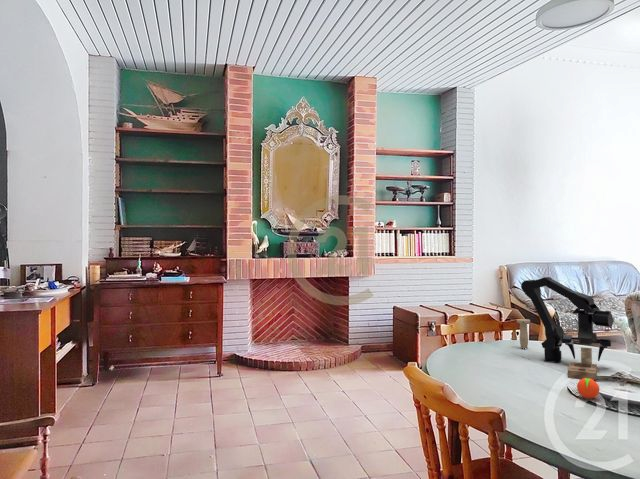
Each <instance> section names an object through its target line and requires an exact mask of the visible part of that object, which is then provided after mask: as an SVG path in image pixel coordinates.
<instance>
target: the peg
mask: <svg viewBox="0 0 640 479" xmlns="http://www.w3.org/2000/svg"><path fill="white" fill-rule="evenodd" d="M592 354H593V352H592V347H582V346H581V347H580V363H587V364H593V356H592Z"/></svg>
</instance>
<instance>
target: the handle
mask: <svg viewBox="0 0 640 479" xmlns="http://www.w3.org/2000/svg"><path fill="white" fill-rule="evenodd" d="M516 323H518V324H519V344H520V348H521V347H522V348H527V349H529V348H528V345H529V334H528V324H530V323H531V320H530V319H529V318H528V319H526V318H517V319H516Z"/></svg>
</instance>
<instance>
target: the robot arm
mask: <svg viewBox="0 0 640 479" xmlns="http://www.w3.org/2000/svg"><path fill="white" fill-rule="evenodd" d="M543 287H546V288H548V289H550V290H551V291H554V292H555V293H556V294H559V295H561V296H563V297H565V298H566V299H567V300H569V301H570V303H571V304H572V305H574V306H575V307H576V308H575V310H573V311H572V312H571V313H572V314H576V315H577V330H578V332H577V337H574V336H573V335H572V334H567V333H565V331H564V329H563V327H562V326H557V325H556V323H555V321H554V319H553V317H552V316H551V314H550V312H549V308H548V307H547V305H546V303H545V301H544V299H543V297H542V289H541V288H543ZM520 288H521V290H522V291H523V293H524V295H525V296H526V297H528V298H529V299H530V300H531V302H532V305H533V306H534V308H535V310H536V313H537V315H538V317H539V318H540V320H541V323H542V325H543V327H544V335H545V338H546V339H544V341H543V342H541V345H542V349H544V359H543V361H544V362H549V363H558V364H559V363H561V361H562V359H563V357H562V350H561V347H562V346H563V344H564V345H565V346H567V347H568V348H569V350H570V352H571V354H572V357H573V359H574V360H575V359H576V351H575V346H574V342H577V343H578V344H580V345H588V346H591V345H592V344H599V346H598V353H597V355H598V356H597V361H598V362H599V361H600V360H601V357H602V354H603V352H604V350H605V349H607V348H608V347H611V346H612V341H611V340H612V339H611V338H610V337H604V336H600V338H598V337H597V333H596V332H594V325H595V326H596V327H605V328H612V327H613V325H614V317H613V314H612V311H611V310H600V308H599V307H598V306H597V304H596V303H595V301H594V300H595V299H594V298H593V296H591V295H588V294H585V293H583V292H579V291H575V290H573V289H571V288H569V287H567V286H565V285H564V284H562V283H560V282H559V281H557V280H556V279H555V280H554V279H553V278H552V277H551V276H545V277H542V278H538V279H528V280H527V279H526V280H524V281H522V282H521V285H520Z"/></svg>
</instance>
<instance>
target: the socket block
mask: <svg viewBox="0 0 640 479" xmlns="http://www.w3.org/2000/svg"><path fill="white" fill-rule="evenodd" d="M596 376H598V365H597V363H592V364H587V363H581V362H577V361H569V364H568V367H567V378H569V379H579V380H581V379H583V378H590V379H594V380H596V381H597V378H596Z"/></svg>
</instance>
